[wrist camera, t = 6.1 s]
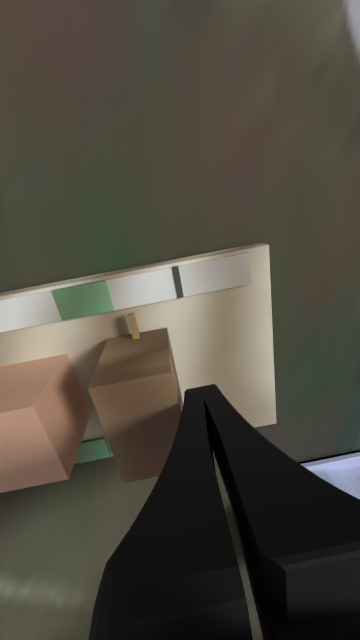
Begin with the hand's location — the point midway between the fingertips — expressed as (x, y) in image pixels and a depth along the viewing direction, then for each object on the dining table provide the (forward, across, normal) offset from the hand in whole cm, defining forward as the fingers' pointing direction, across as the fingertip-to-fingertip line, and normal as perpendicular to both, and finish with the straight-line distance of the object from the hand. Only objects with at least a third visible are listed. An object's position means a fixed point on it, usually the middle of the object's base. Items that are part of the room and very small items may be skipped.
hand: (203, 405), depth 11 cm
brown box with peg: (+3, +2, 0) cm, 4 cm away
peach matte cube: (+3, +8, 0) cm, 9 cm away
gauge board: (+4, +4, 0) cm, 6 cm away
